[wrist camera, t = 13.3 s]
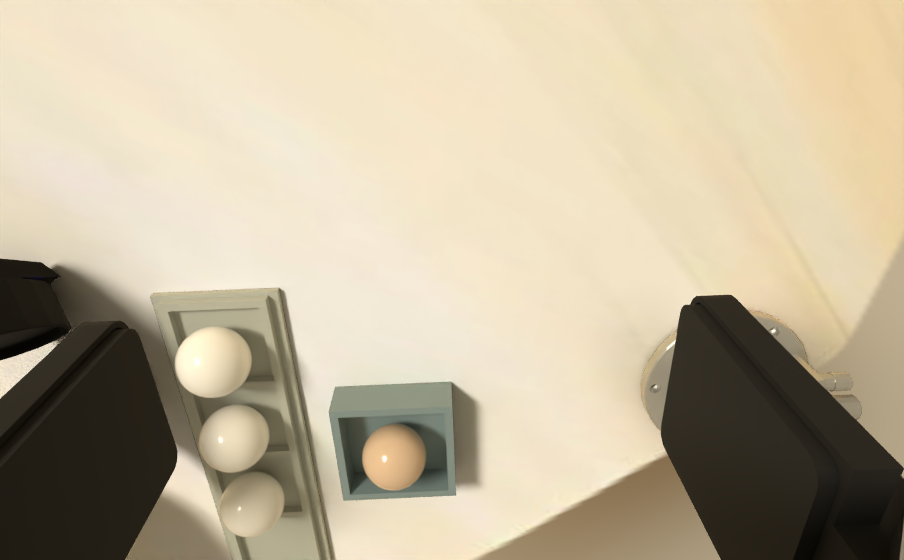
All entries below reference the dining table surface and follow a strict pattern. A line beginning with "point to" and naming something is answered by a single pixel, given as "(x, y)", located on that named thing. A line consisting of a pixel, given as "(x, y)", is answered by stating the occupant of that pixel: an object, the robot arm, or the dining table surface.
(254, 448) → the white egg
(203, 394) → the white egg
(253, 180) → the dining table surface
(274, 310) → the carton
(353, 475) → the dish
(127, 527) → the robot arm
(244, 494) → the white egg
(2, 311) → the headphones
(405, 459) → the brown egg
